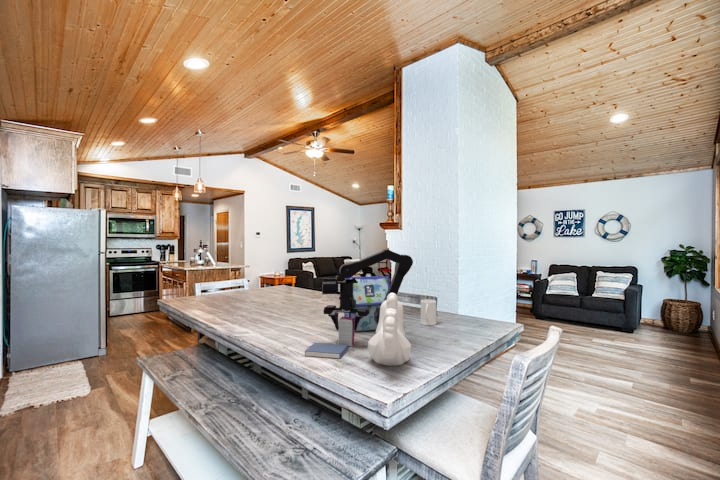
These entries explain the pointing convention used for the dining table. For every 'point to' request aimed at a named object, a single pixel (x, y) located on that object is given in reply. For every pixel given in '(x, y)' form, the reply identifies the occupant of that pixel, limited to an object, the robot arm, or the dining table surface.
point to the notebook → (326, 350)
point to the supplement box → (346, 331)
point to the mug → (428, 312)
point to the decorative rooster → (390, 335)
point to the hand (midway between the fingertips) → (346, 331)
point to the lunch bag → (368, 299)
